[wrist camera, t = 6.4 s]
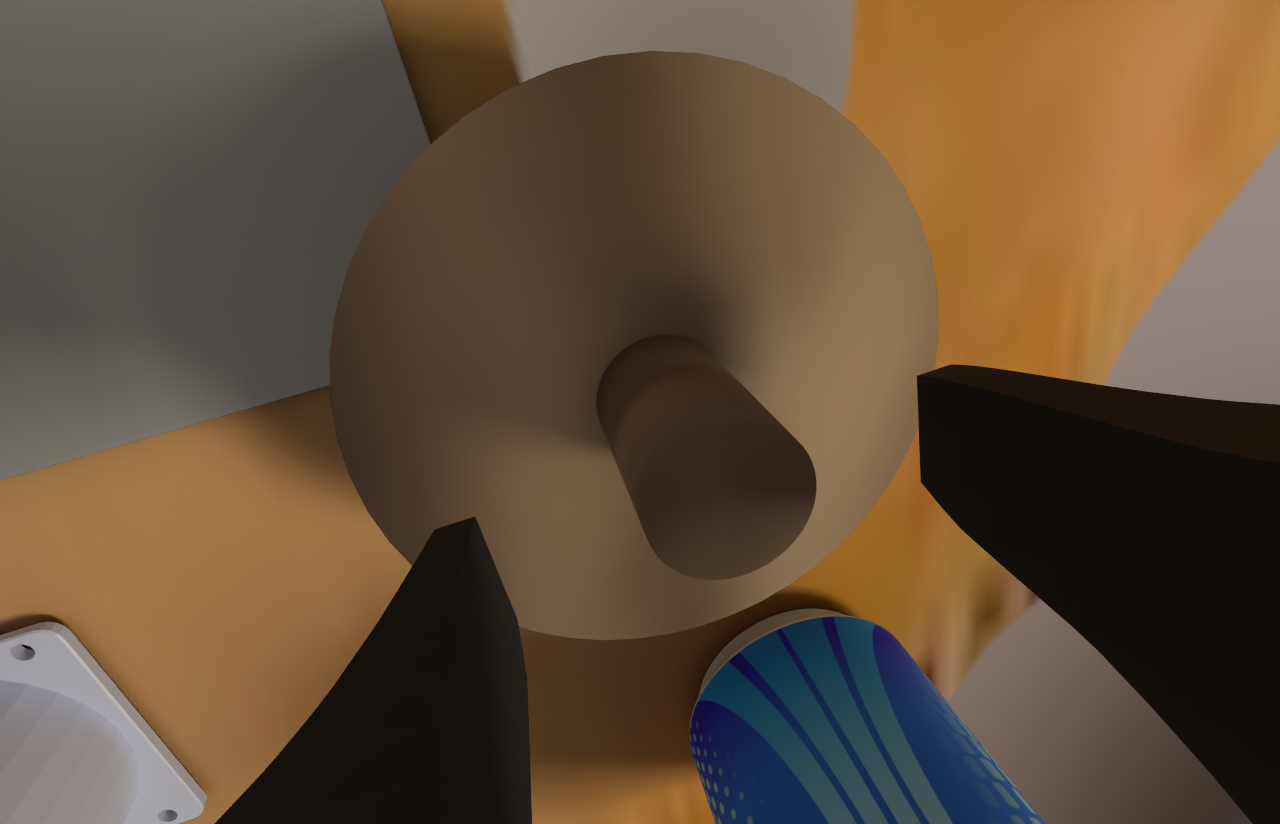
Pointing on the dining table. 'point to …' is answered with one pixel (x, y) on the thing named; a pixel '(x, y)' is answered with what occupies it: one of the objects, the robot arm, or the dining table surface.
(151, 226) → the mat
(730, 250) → the lid
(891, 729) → the beer can
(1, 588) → the dining table surface
